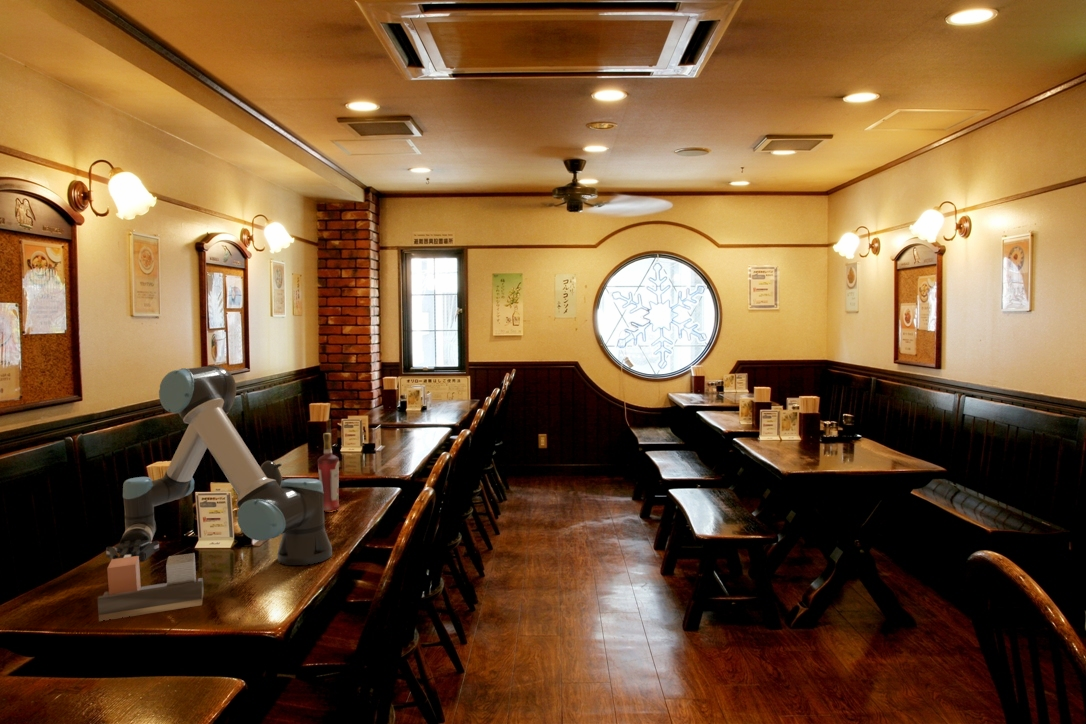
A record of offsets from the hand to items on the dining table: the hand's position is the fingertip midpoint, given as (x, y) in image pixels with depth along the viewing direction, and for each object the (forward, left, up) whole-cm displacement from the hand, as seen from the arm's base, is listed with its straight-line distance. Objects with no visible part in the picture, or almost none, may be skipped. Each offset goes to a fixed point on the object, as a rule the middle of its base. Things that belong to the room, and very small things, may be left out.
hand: (124, 567), depth 186 cm
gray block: (-15, +4, -6) cm, 17 cm away
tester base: (-9, +6, -8) cm, 13 cm away
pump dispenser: (-15, -93, -8) cm, 95 cm away
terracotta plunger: (-1, +4, -6) cm, 7 cm away
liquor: (-40, -73, -8) cm, 84 cm away
